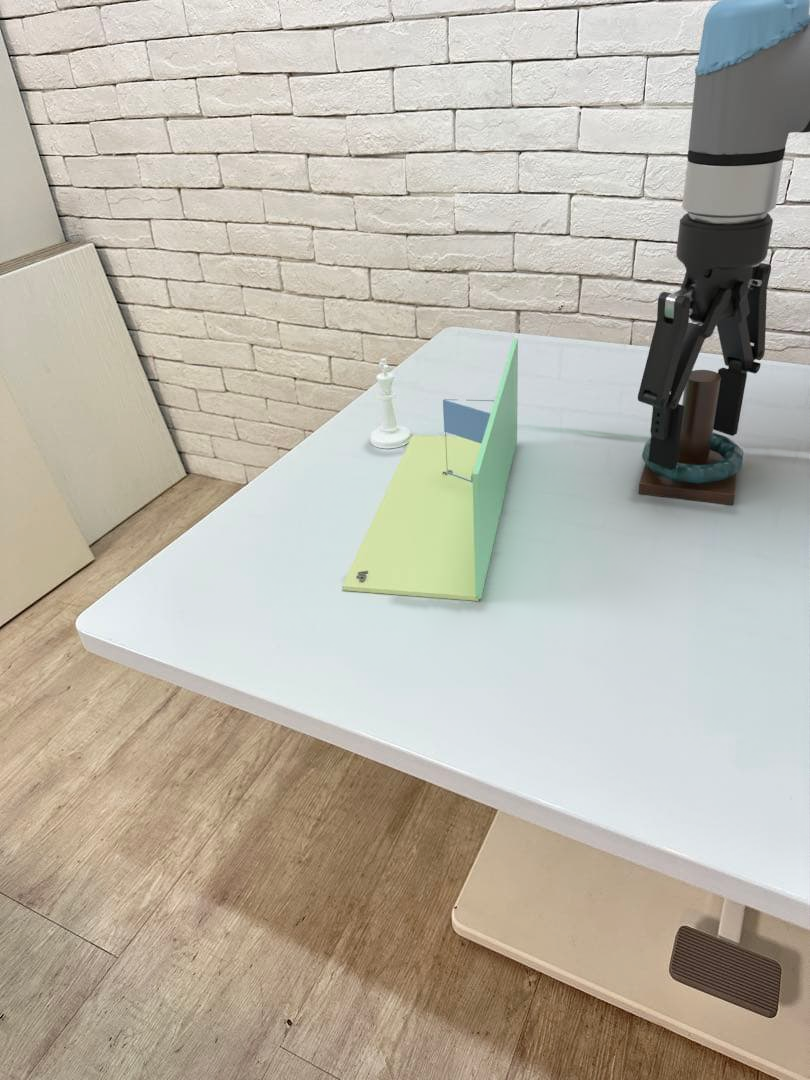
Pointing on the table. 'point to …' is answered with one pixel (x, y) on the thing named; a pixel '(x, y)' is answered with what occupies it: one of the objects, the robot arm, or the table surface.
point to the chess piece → (388, 415)
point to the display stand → (444, 504)
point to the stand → (695, 445)
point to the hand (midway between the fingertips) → (693, 447)
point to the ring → (707, 471)
